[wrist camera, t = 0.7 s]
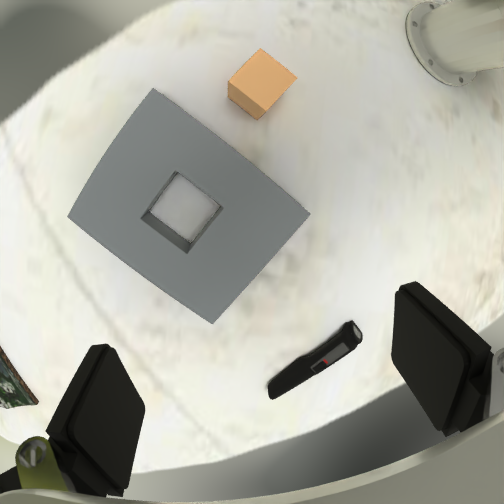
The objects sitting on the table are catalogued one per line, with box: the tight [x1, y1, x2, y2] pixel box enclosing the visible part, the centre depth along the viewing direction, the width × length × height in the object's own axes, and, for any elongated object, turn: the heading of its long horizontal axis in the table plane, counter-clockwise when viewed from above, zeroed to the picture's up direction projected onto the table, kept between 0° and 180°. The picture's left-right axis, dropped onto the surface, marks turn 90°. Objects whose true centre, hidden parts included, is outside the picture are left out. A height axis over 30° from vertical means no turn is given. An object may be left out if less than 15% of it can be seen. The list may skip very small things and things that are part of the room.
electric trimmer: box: [268, 320, 363, 400], centre depth 40 cm, size 4×16×3 cm, turn 130°
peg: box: [228, 48, 297, 120], centre depth 26 cm, size 4×4×8 cm
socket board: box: [67, 88, 310, 324], centre depth 31 cm, size 16×20×4 cm
